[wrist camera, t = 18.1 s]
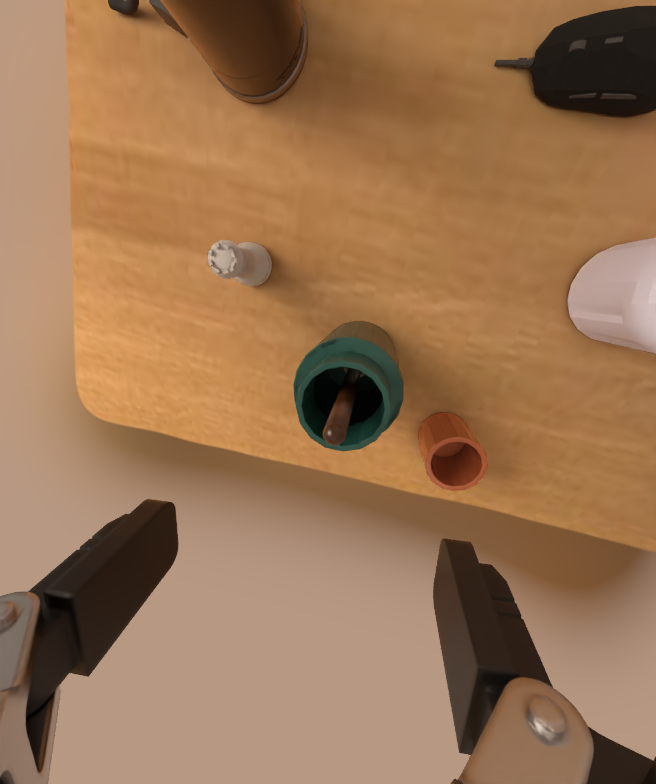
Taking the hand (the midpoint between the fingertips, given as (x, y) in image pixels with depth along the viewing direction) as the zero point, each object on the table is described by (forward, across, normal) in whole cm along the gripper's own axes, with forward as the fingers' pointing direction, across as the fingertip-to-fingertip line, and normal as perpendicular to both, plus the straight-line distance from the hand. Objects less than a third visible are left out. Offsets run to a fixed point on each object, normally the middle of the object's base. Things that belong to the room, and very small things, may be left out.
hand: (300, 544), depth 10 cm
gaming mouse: (+30, -17, -26) cm, 43 cm away
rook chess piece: (+30, +12, -9) cm, 34 cm away
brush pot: (+30, -10, +8) cm, 33 cm away
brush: (+29, 0, 0) cm, 29 cm away
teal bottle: (+30, 0, 0) cm, 30 cm away
